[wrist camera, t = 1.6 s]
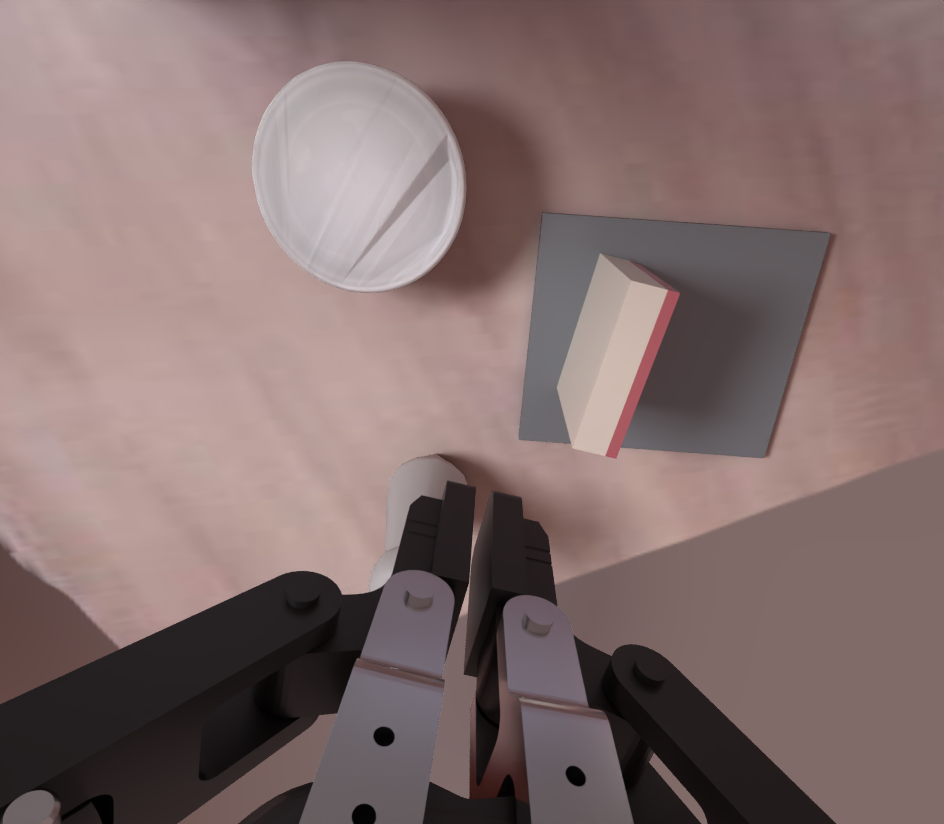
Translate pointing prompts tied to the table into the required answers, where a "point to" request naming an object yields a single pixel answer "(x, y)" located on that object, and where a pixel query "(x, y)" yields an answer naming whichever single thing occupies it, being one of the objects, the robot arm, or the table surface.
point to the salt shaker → (403, 491)
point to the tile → (613, 352)
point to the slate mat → (680, 327)
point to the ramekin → (359, 176)
